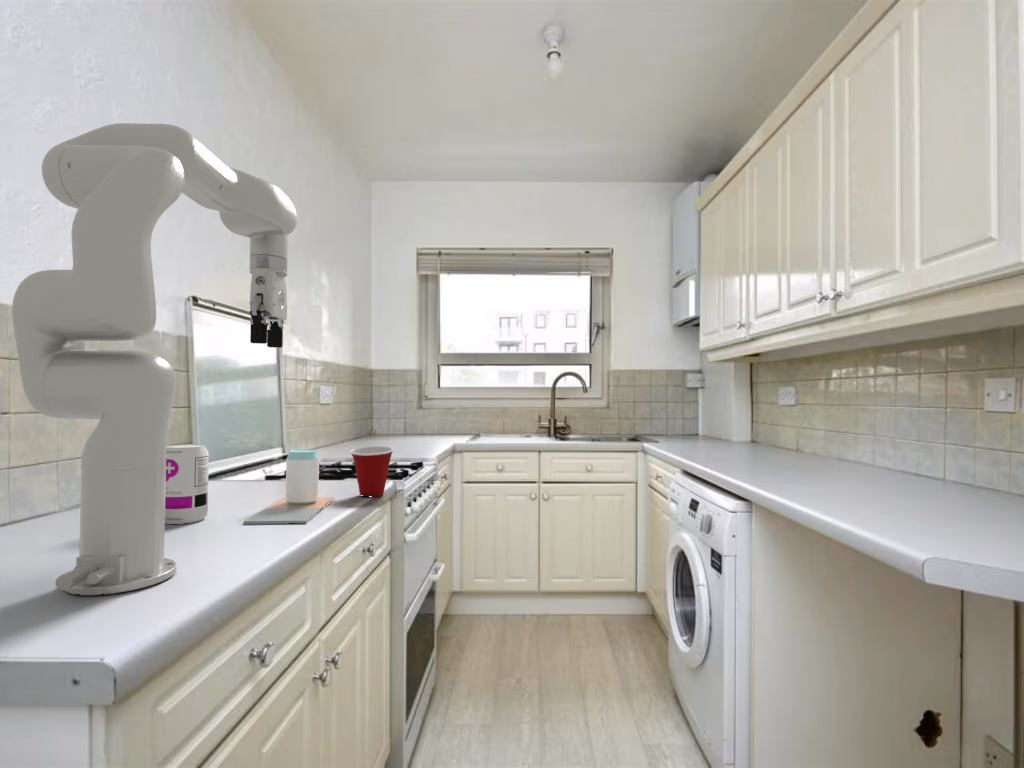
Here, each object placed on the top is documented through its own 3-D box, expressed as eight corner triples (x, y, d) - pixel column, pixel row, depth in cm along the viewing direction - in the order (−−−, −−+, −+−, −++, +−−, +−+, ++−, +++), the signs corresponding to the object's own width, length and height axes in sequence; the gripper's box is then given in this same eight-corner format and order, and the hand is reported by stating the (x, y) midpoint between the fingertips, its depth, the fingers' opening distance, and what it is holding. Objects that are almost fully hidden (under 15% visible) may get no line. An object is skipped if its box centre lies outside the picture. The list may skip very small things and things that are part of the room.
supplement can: (169, 527, 102) (171, 449, 102) (153, 521, 107) (154, 446, 107) (214, 519, 108) (216, 446, 109) (196, 513, 113) (198, 443, 114)
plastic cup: (340, 497, 132) (341, 449, 132) (364, 490, 142) (365, 445, 143) (378, 501, 129) (379, 451, 129) (400, 493, 139) (401, 447, 139)
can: (317, 504, 121) (318, 451, 121) (283, 506, 119) (285, 452, 119) (318, 498, 128) (319, 448, 128) (286, 500, 125) (288, 449, 126)
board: (306, 523, 106) (306, 520, 106) (243, 524, 105) (243, 521, 105) (334, 499, 130) (334, 497, 130) (283, 500, 129) (283, 497, 129)
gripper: (272, 258, 109) (271, 342, 108) (298, 276, 126) (296, 349, 125) (234, 256, 108) (232, 341, 108) (265, 275, 125) (263, 348, 125)
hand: (267, 345), depth 116 cm, fingers open, 9 cm apart
